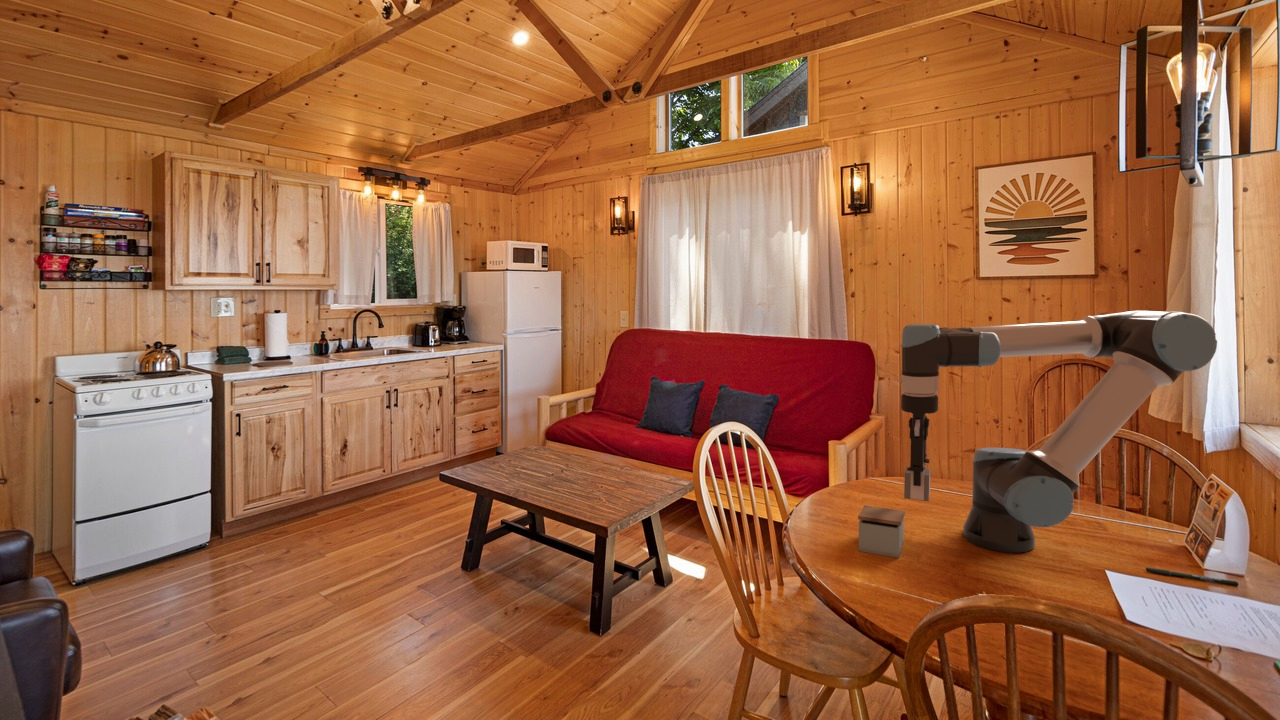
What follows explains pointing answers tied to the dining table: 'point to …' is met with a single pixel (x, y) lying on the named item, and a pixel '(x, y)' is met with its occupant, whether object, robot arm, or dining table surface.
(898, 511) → the lid
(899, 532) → the box
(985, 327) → the robot arm
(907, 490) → the slate block
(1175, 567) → the dining table surface
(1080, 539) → the dining table surface
